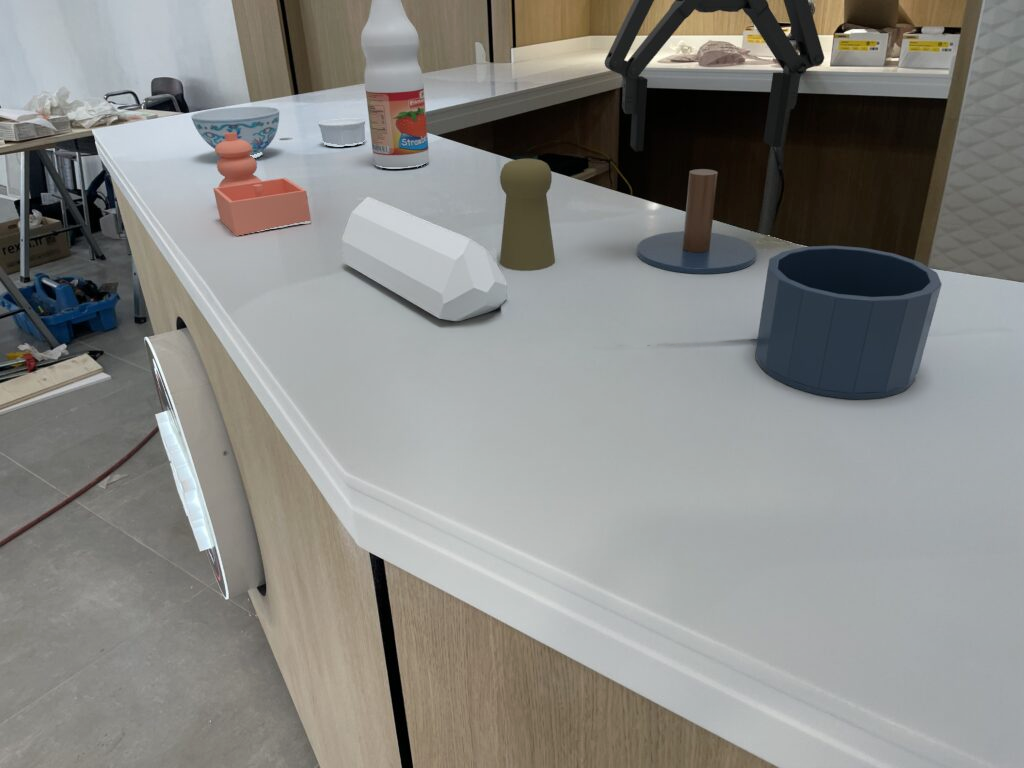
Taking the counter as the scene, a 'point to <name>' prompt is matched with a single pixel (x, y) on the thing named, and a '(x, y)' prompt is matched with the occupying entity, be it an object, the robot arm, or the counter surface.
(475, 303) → the crystal
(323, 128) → the ramekin
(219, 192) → the pottery
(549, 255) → the cork
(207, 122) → the chinaware
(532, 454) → the counter surface
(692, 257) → the cover
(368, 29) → the fruit juice
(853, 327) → the blue round pot
